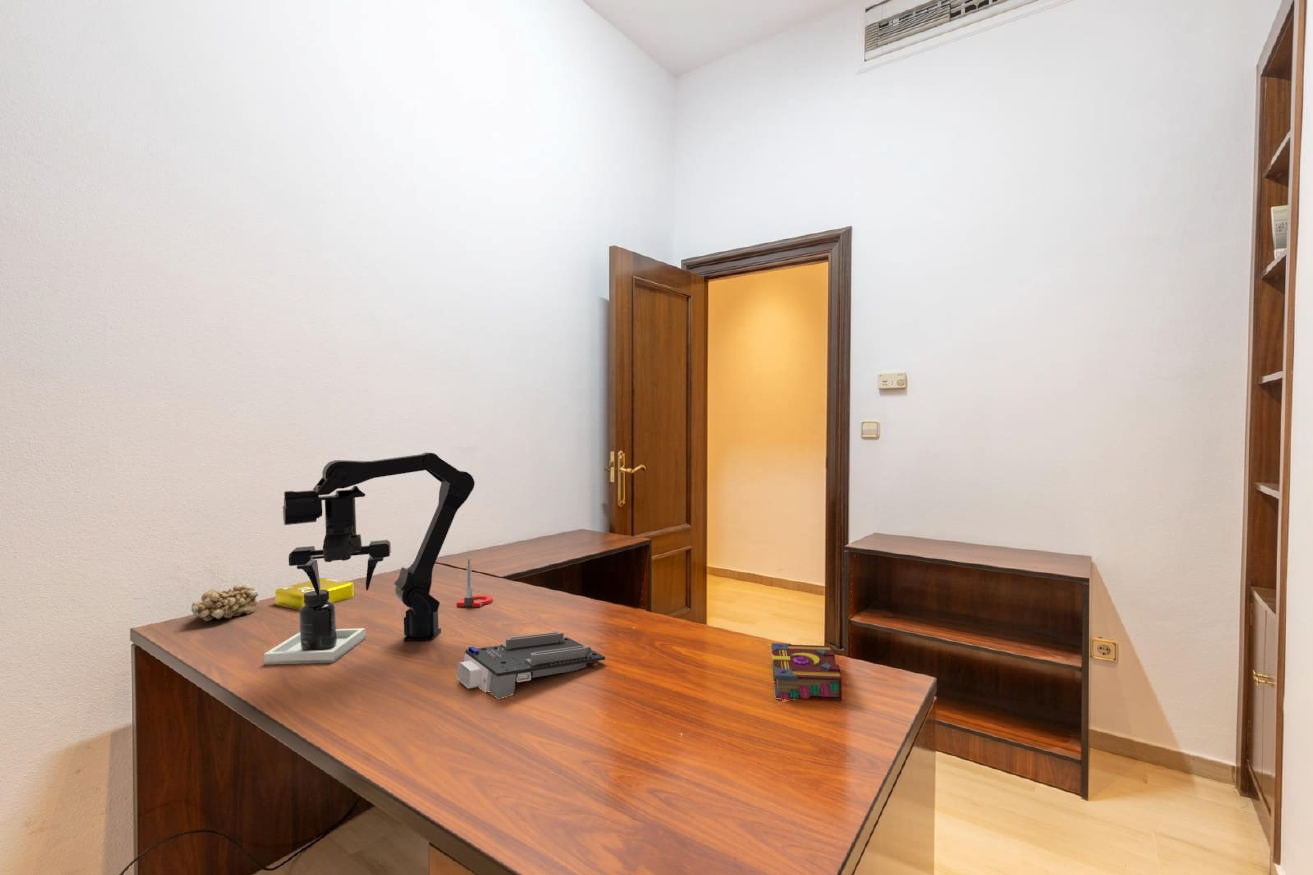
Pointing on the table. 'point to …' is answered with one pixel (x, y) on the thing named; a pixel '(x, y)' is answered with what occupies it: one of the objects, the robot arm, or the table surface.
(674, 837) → the table surface
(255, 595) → the mineral formation
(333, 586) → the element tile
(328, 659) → the ceramic tray
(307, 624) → the supplement bottle
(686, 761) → the table surface
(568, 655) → the circuit board
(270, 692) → the table surface
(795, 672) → the decorative book
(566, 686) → the table surface
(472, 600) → the tow hook
